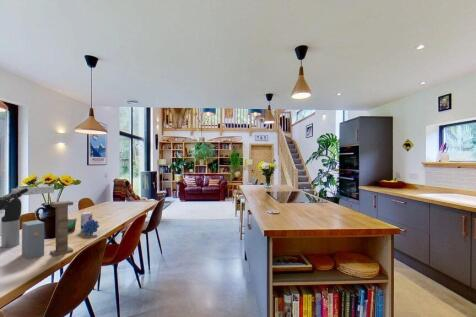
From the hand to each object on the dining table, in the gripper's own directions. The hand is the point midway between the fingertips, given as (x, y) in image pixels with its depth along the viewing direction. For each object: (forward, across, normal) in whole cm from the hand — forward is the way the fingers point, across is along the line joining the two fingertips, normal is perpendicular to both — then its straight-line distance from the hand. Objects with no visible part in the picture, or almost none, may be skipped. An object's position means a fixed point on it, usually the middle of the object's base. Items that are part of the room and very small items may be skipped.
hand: (26, 189), depth 150 cm
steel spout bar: (+1, 0, -5) cm, 5 cm away
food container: (+10, -40, -54) cm, 68 cm away
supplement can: (+19, -28, -59) cm, 68 cm away
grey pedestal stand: (-7, +10, -44) cm, 45 cm away
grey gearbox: (-18, 0, -38) cm, 41 cm away
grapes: (+17, -15, -58) cm, 62 cm away
